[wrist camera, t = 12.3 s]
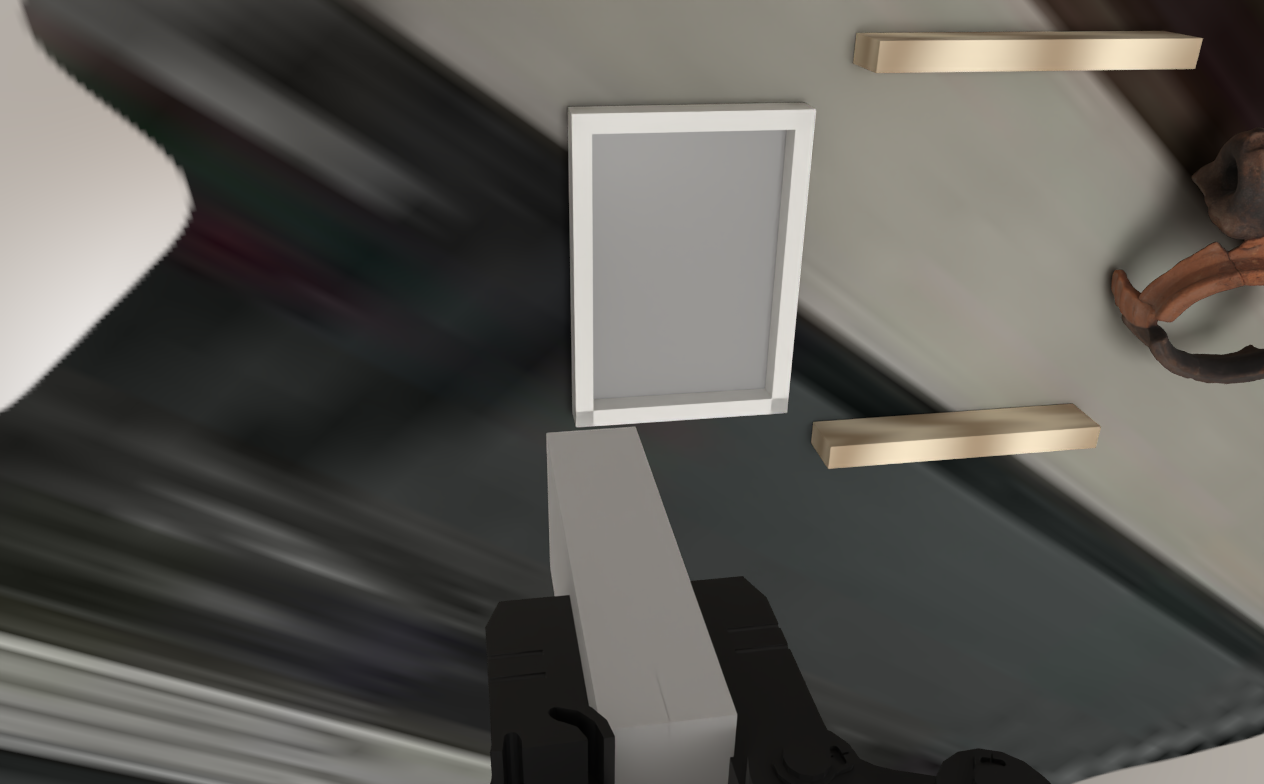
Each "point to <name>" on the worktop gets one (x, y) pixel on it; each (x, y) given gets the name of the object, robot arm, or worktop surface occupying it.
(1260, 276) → the broken clay vessel
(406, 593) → the worktop surface
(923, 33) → the guide channel
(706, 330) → the tray
